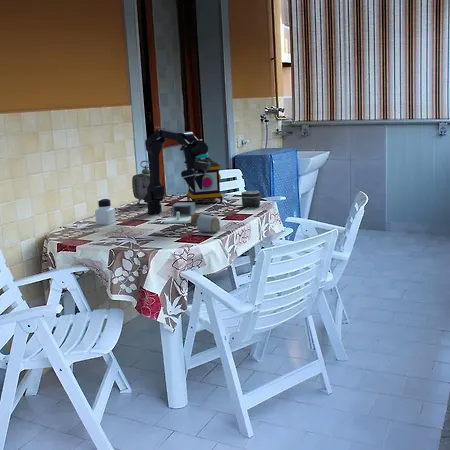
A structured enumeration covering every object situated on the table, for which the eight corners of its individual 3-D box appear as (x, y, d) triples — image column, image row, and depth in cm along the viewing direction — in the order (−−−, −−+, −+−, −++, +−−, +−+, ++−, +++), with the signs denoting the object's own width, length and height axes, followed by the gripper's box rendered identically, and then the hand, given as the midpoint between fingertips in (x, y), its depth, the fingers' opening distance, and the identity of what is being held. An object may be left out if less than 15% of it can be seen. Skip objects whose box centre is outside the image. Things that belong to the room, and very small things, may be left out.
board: (163, 223, 290) (163, 214, 289) (175, 214, 312) (174, 205, 311) (188, 223, 288) (187, 214, 287) (197, 213, 309) (197, 205, 308)
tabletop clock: (133, 205, 344) (130, 161, 338) (143, 202, 351) (140, 159, 346) (153, 206, 336) (150, 161, 331) (163, 203, 343) (160, 159, 338)
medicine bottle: (116, 221, 300) (113, 198, 297) (108, 225, 293) (106, 200, 291) (103, 221, 302) (101, 197, 300) (95, 224, 296) (93, 200, 293)
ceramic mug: (212, 234, 263) (211, 217, 262) (196, 233, 267) (195, 215, 266) (225, 229, 272) (224, 212, 270) (209, 228, 276) (209, 211, 275)
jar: (263, 205, 325) (263, 191, 323) (254, 208, 316) (254, 194, 315) (247, 204, 330) (247, 190, 328) (238, 207, 322) (237, 193, 320)
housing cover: (172, 215, 302) (172, 205, 301) (177, 212, 311) (176, 202, 310) (191, 215, 301) (190, 205, 300) (195, 211, 309) (194, 202, 308)
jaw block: (191, 223, 289) (190, 214, 288) (193, 220, 293) (193, 212, 292) (201, 222, 288) (201, 214, 287) (203, 220, 292) (203, 212, 292)
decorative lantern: (184, 200, 352) (181, 148, 346) (217, 197, 356) (214, 146, 350) (190, 205, 333) (187, 151, 327) (225, 202, 337) (223, 148, 331)
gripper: (199, 154, 277) (206, 187, 278) (213, 154, 295) (219, 185, 295) (177, 159, 281) (184, 192, 282) (192, 159, 298) (199, 190, 299)
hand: (197, 190), depth 289 cm, fingers open, 9 cm apart
